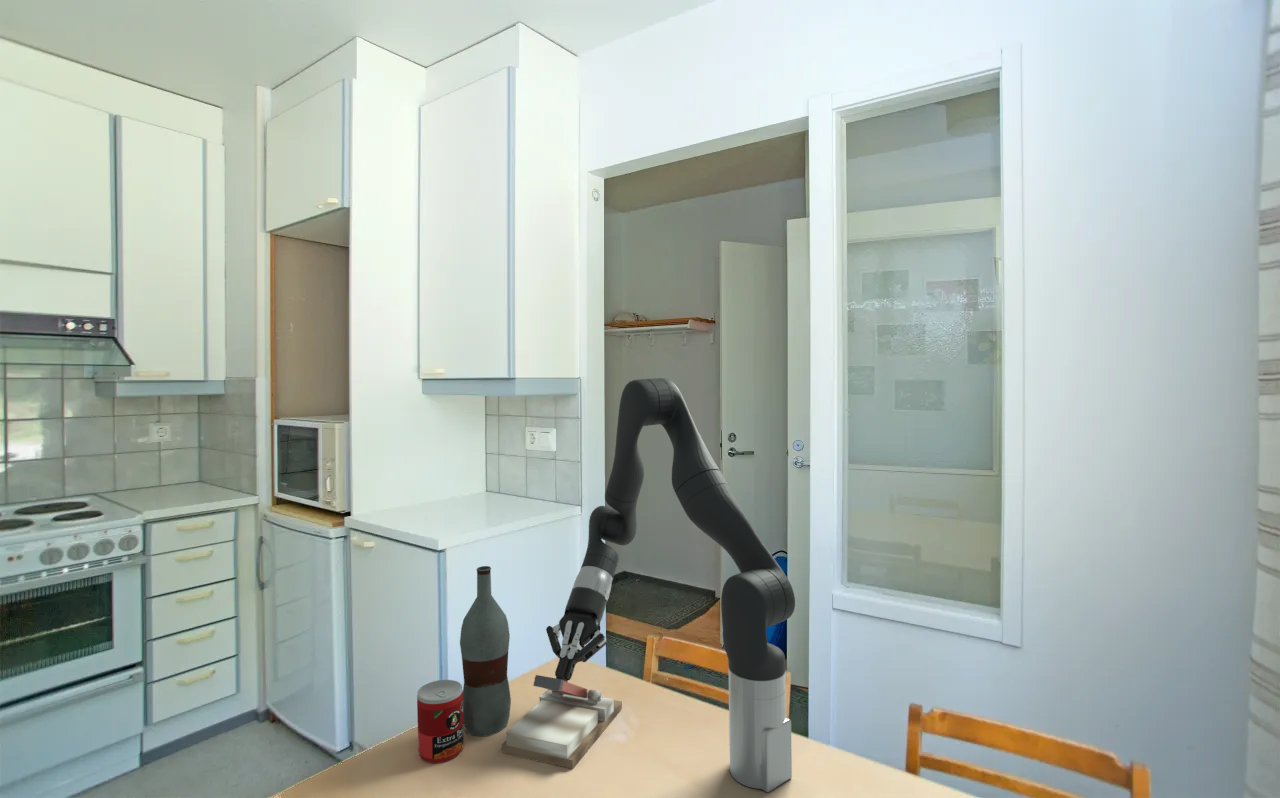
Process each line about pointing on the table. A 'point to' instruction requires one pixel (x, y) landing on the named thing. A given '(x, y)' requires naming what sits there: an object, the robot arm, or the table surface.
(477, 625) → the bottle
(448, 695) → the canned food
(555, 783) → the table surface
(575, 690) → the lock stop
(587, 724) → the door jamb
